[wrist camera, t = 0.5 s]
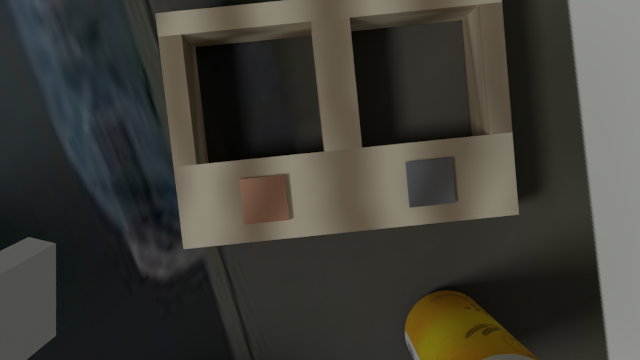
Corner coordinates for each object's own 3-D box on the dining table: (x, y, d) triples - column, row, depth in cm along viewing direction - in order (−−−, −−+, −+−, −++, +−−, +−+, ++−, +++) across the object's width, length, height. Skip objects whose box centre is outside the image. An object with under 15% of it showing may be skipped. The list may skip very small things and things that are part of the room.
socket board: (196, 239, 34) (182, 249, 31) (172, 28, 33) (153, 12, 30) (498, 208, 34) (520, 215, 31) (480, -3, 34) (502, -24, 30)
